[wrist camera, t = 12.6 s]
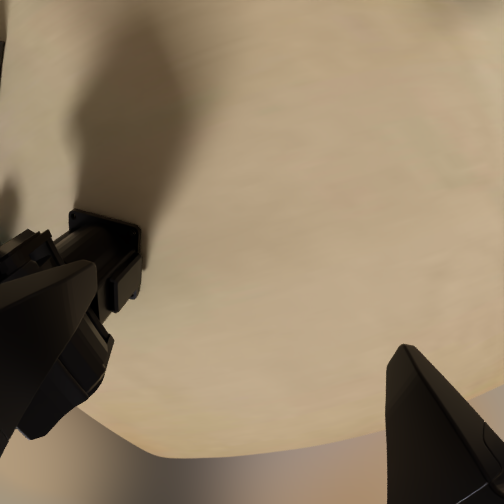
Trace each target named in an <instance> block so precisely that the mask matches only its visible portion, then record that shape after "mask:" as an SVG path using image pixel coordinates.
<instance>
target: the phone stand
mask: <svg viewBox="0 0 504 504" xmlns="http://www.w3.org/2000/svg"><path fill="white" fill-rule="evenodd" d="M3 47H4V41H0V70H1V61H2V54H3Z"/></svg>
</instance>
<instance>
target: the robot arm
mask: <svg viewBox="0 0 504 504" xmlns="http://www.w3.org/2000/svg"><path fill="white" fill-rule="evenodd" d="M74 214H75V216H76V217H75V216H74ZM132 230H134V231H135V233H136V234H134V233H133V232H132ZM51 237H52V235H51V233H50V231H49V229H48V230H46V231H44V232H43V233H41V234H40V232H39V231H38V232H37V233H34V232H32V231H31V230H29V229H27V230H25V231H24V232H22V233H21V234H19V235H18V236H16V237H14V238H13V239H11V240H10V241H8V242H7V243H5V244H3V245H2V246H0V457H1V455H2V453H3V451H4V449H5V447H6V445H7V444H8V442H9V439H10V438H11V436H12V434H13V432H14V430H15V429H18V430H19V431H20V432H21V433H22V434H23V435H24V436H25V437H26V438H27V439H28V440H33V439H36V438H39V437H43V436H45V435H46V434H47V433H48V432H49V431H50V430H51V429H52V428H53V427H54V426H55V425H56V423H57V422H58V421H59V420H60V419H61V418H62V417H63V416H64V415H65V414H67V413H68V412H69V411H70V410H72V409H73V408H74V407H76V406H77V405H79V404H81V403H83V402H84V401H86V400H87V399H88V398H89V397H90V396H91V395H92V394H93V393H94V392H95V391H96V390H97V389H98V388H99V386H100V384H101V383H102V381H103V378H104V375H105V371H106V368H107V364H108V361H109V357H110V354H111V350H112V347H113V344H114V339H113V337H112V336H111V334H108V332H107V331H106V329H105V328H104V326H103V325H102V324H103V323H104V321H105V320H106V319H107V317H108V316H109V315H110V314H111V312H114V313H117V312H119V311H120V310H121V308H122V307H123V306H124V304H125V303H126V302H127V301H128V299H135V298H136V297H137V296H138V294H139V285H140V284H141V272H142V256H141V254H140V241H141V229H140V228H139V227H138V226H137V225H135V224H131V223H127V222H124V221H120V220H116V219H112V218H108V217H105V216H101V215H97V214H93V213H89V212H86V211H82V210H78V209H73V210H72V211H70V212H69V231H67V232H66V233H65V234H63V235H62V236H60V237H59V238H57V239H56V240H55V241H53V240H52V238H51ZM385 422H386V441H387V477H388V478H387V484H388V485H387V504H504V442H503V441H502V440H501V439H500V438H499V437H498V435H497V434H496V433H495V432H494V431H493V430H492V429H491V428H490V427H489V425H488V424H487V423H486V422H484V420H483V419H482V418H481V417H480V415H478V413H477V412H476V411H475V410H474V409H473V408H472V407H471V406H470V405H469V403H468V402H467V401H466V400H465V399H464V398H463V397H462V396H461V395H460V393H459V392H458V391H457V390H456V389H455V388H454V387H453V386H452V385H451V384H450V383H449V382H448V381H447V380H446V378H445V377H444V376H443V375H442V374H441V373H440V372H439V371H438V370H437V369H436V368H435V367H434V366H433V365H432V364H431V363H430V362H429V361H428V360H427V359H426V357H425V356H424V355H423V354H422V353H421V352H420V351H419V350H418V349H417V348H416V347H415V346H413V345H407V344H402V345H400V346H399V347H398V349H397V351H396V352H395V354H394V355H393V357H392V358H391V360H390V361H389V363H388V365H387V370H386V404H385Z"/></svg>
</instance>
